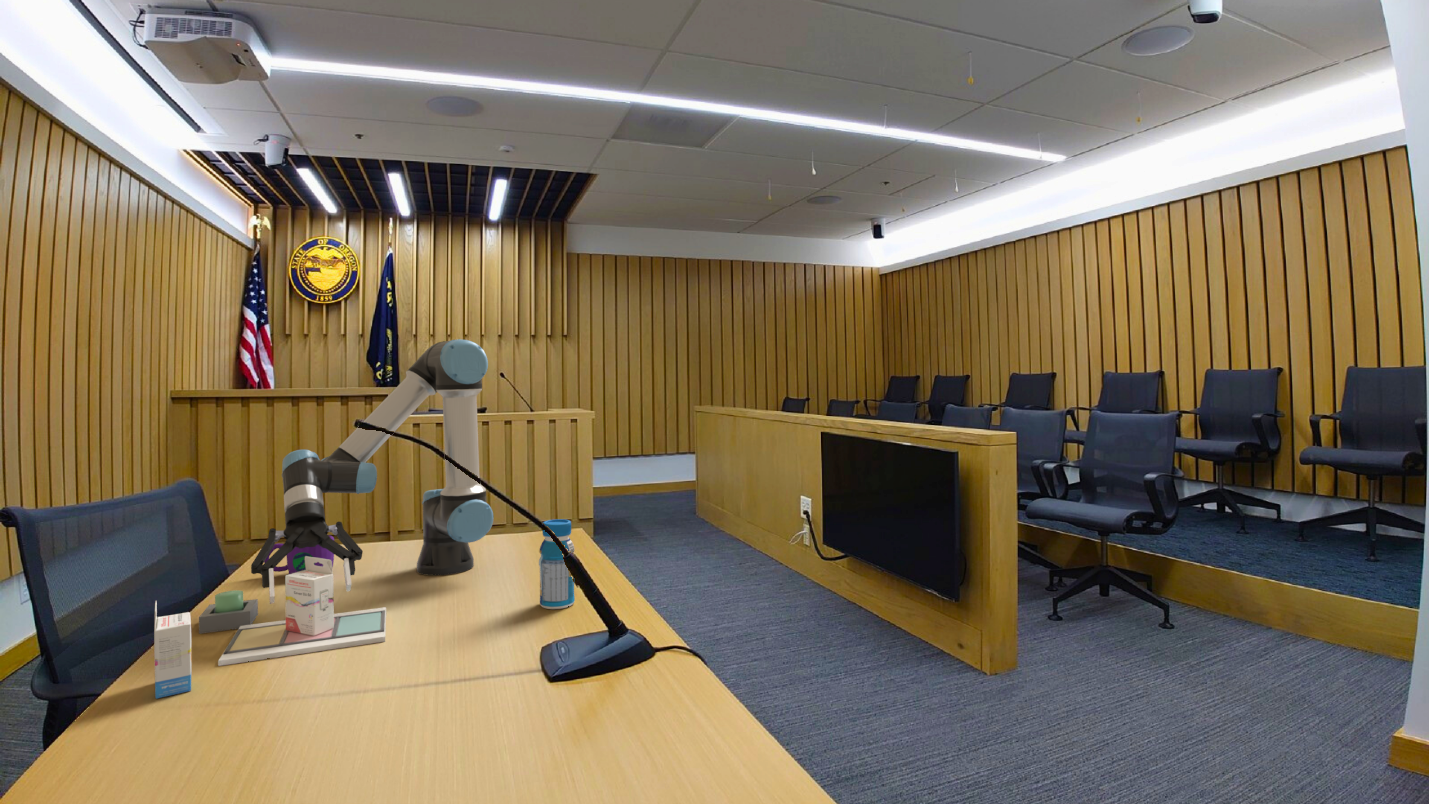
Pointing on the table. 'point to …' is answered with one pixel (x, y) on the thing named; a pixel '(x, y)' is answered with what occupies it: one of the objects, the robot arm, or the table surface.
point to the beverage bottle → (555, 567)
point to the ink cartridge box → (310, 598)
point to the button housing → (227, 618)
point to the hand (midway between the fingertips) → (311, 593)
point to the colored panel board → (304, 637)
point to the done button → (229, 601)
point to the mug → (302, 557)
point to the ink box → (172, 654)
